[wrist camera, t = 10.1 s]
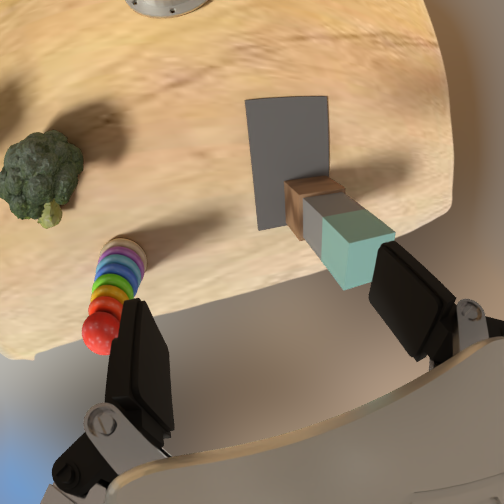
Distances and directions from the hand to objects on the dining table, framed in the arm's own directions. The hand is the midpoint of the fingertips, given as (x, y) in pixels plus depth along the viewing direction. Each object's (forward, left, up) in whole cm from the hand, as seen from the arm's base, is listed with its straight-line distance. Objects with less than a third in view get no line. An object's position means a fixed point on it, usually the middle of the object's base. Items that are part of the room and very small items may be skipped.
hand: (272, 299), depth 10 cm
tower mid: (+10, +14, -24) cm, 29 cm away
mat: (+4, +12, -30) cm, 33 cm away
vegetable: (-2, -22, -31) cm, 38 cm away
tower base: (+10, +14, -30) cm, 34 cm away
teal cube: (+10, +14, -18) cm, 25 cm away
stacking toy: (+14, -16, -31) cm, 37 cm away
